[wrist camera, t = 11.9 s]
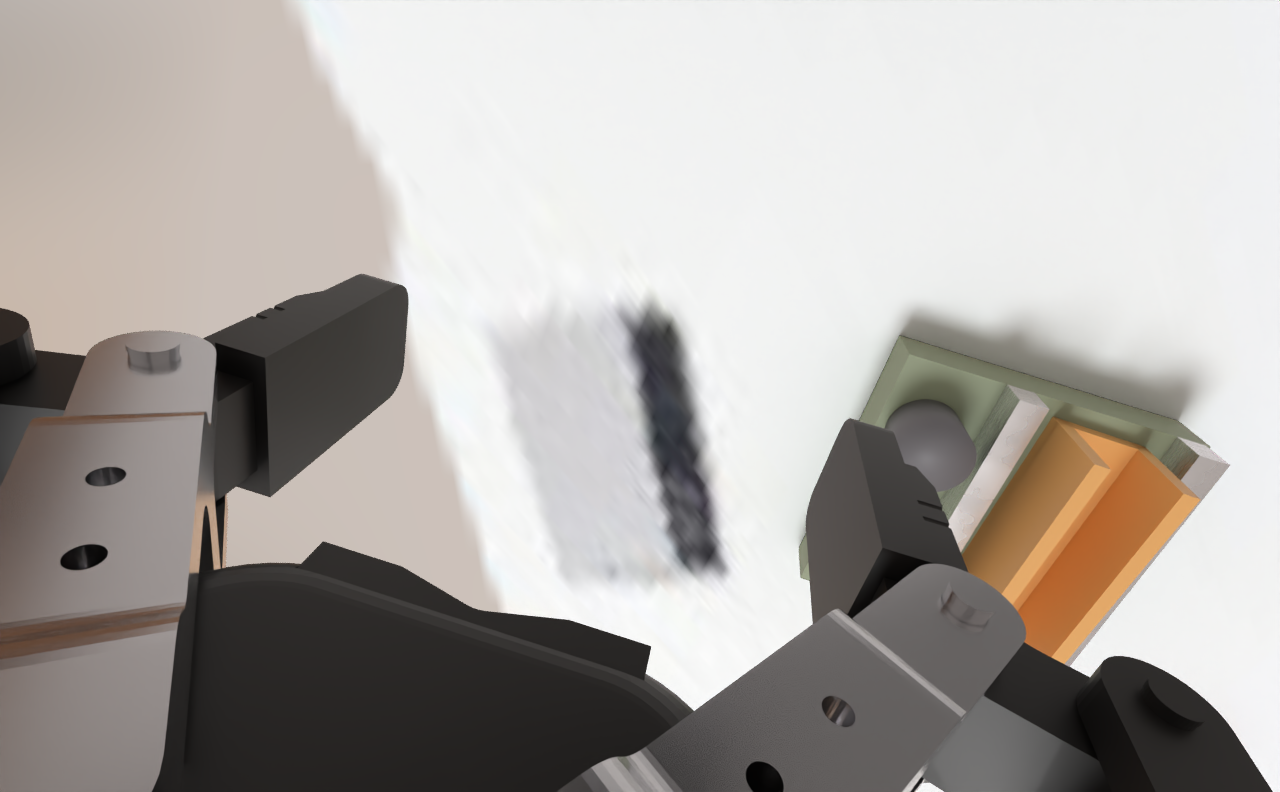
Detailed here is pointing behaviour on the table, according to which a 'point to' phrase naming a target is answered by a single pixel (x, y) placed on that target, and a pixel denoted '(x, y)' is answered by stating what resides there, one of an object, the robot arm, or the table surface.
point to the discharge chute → (1076, 531)
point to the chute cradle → (1006, 444)
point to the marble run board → (982, 414)
